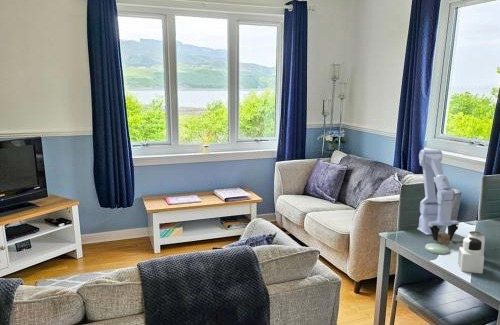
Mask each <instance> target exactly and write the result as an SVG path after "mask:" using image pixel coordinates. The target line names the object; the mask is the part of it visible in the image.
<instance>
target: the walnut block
mask: <svg viewBox="0 0 500 325" xmlns="http://www.w3.org/2000/svg"><path fill="white" fill-rule="evenodd" d="M435 242H436V243H437V244H441V245H450V242H451V241H450V235H449V234H448V232H445V231H439V232H438V239H437V241H435Z"/></svg>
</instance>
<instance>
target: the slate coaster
mask: <svg viewBox="0 0 500 325" xmlns="http://www.w3.org/2000/svg"><path fill="white" fill-rule="evenodd" d="M465 238H466V236H465V237H464V236H463V235H460V234H458V233H456V232H455V233H454V235H453V237H452V240H450V242H452V243H453V244H460V243H463V239H465Z"/></svg>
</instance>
